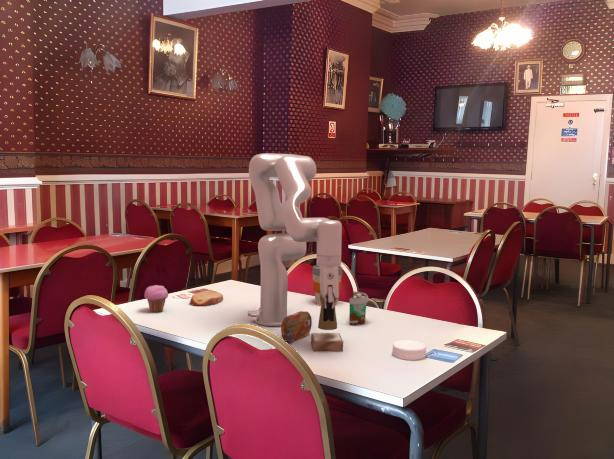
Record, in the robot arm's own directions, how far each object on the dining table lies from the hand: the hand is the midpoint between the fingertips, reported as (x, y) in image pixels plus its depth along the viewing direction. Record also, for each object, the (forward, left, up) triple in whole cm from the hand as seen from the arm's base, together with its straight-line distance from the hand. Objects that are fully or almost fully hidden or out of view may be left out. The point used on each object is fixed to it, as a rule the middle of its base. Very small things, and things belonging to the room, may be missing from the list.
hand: (327, 318), depth 182 cm
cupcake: (-60, +45, -9) cm, 76 cm away
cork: (0, 0, -3) cm, 3 cm away
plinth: (0, 0, -9) cm, 9 cm away
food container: (+15, +29, -9) cm, 34 cm away
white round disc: (+24, -8, -9) cm, 27 cm away
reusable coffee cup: (+6, +59, -9) cm, 60 cm away
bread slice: (-43, +63, -10) cm, 77 cm away
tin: (-9, +9, -9) cm, 16 cm away
